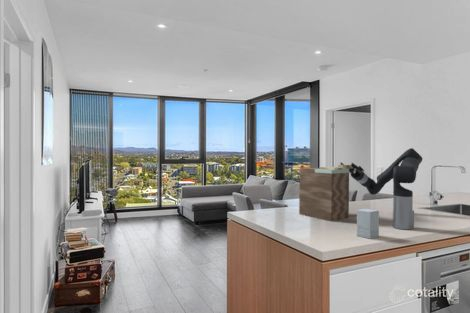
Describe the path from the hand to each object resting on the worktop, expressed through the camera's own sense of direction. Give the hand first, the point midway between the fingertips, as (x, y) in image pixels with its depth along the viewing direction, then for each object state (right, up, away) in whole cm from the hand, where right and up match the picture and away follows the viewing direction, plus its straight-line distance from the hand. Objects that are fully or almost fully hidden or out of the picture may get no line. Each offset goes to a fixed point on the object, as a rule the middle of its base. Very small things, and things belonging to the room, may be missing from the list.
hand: (345, 163), depth 206 cm
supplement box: (-7, -34, -51) cm, 62 cm away
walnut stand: (-15, -33, -2) cm, 36 cm away
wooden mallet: (-4, -3, -3) cm, 6 cm away
